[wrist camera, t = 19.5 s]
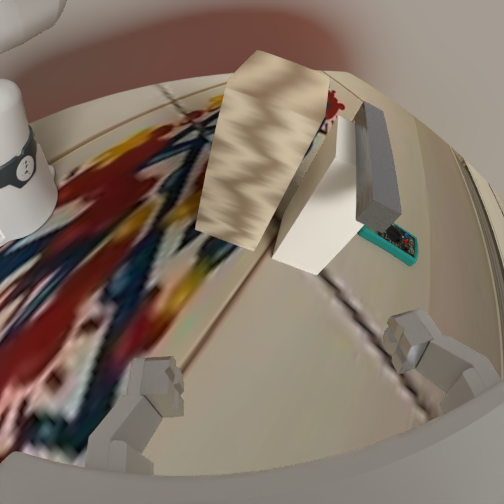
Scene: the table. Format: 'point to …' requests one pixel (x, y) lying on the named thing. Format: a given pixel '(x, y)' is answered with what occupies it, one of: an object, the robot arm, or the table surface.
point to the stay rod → (375, 171)
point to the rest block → (322, 205)
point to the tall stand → (259, 145)
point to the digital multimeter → (393, 242)
